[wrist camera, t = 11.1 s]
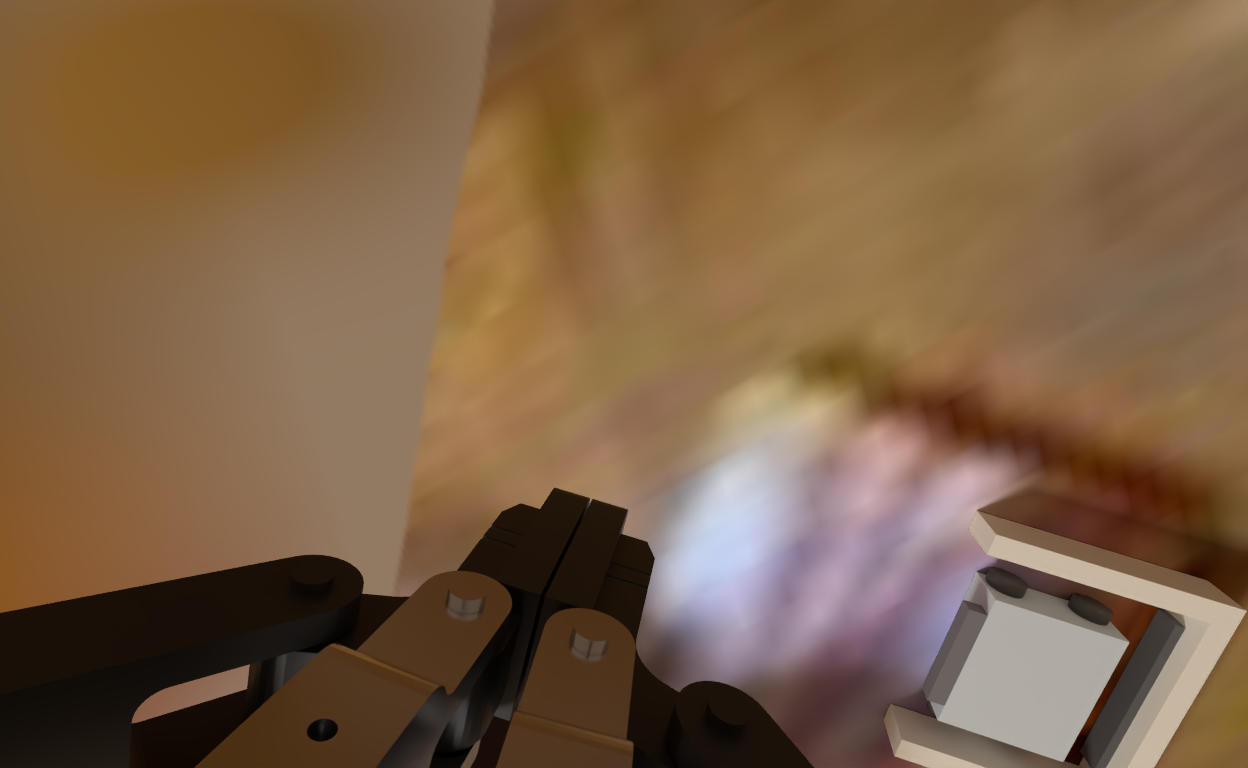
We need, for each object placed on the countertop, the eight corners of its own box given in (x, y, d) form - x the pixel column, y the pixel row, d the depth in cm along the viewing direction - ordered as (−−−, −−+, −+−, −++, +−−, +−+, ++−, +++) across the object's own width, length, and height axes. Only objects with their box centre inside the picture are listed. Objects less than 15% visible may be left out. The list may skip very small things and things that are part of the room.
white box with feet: (963, 557, 39) (981, 584, 37) (1105, 601, 39) (1134, 632, 36) (903, 688, 42) (915, 723, 39) (1035, 731, 41) (1058, 770, 38)
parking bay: (976, 510, 39) (996, 534, 36) (1207, 580, 38) (1246, 610, 35) (883, 719, 43) (894, 756, 40) (1090, 788, 42) (1116, 830, 39)
